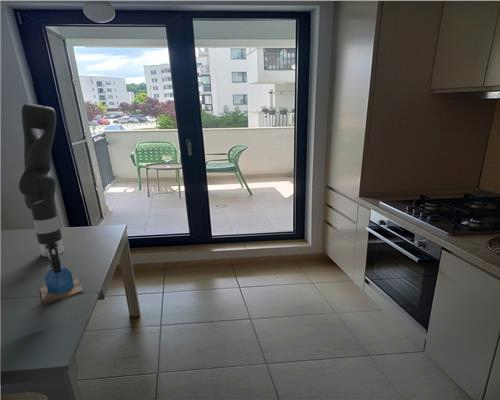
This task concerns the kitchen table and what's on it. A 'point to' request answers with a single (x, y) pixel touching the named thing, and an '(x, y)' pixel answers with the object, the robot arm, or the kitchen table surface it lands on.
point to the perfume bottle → (58, 280)
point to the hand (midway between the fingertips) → (56, 267)
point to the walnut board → (52, 297)
